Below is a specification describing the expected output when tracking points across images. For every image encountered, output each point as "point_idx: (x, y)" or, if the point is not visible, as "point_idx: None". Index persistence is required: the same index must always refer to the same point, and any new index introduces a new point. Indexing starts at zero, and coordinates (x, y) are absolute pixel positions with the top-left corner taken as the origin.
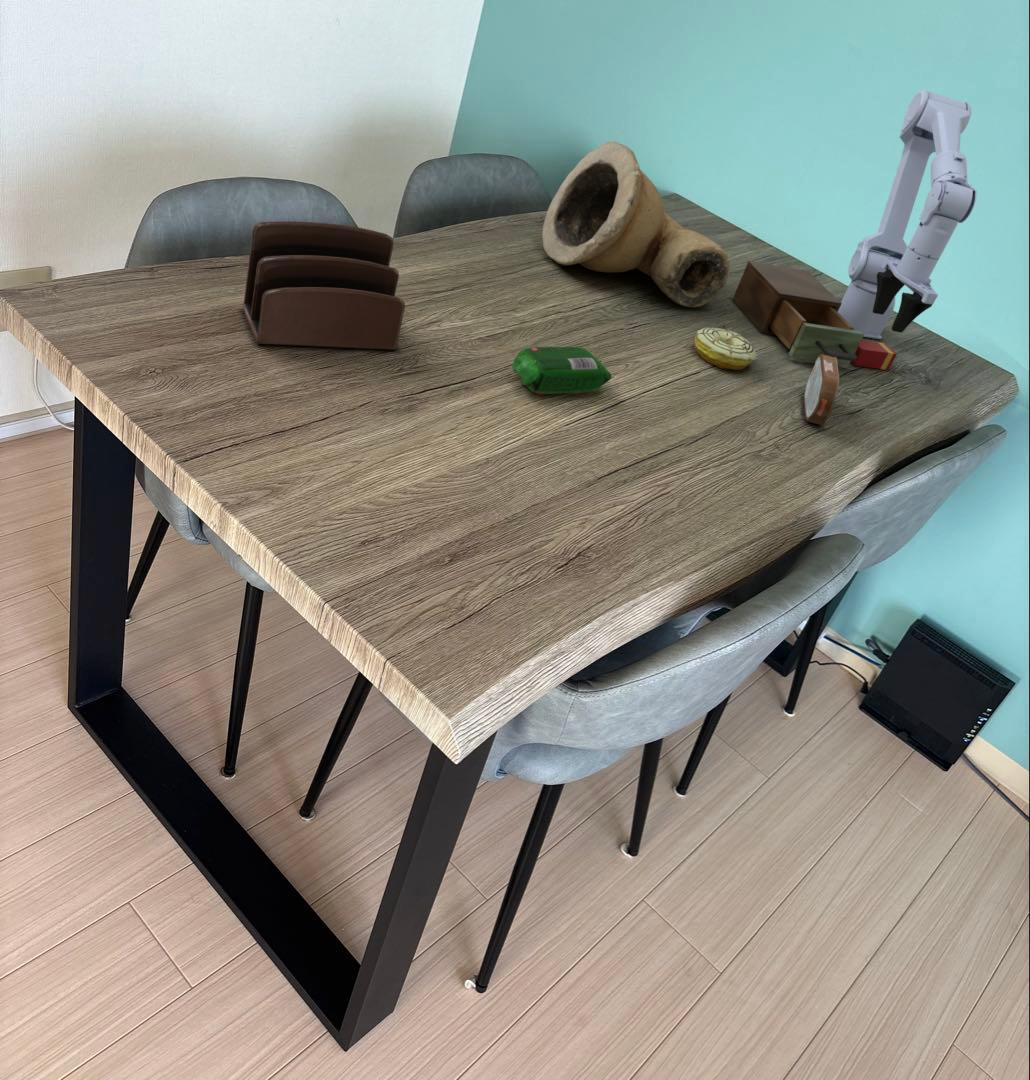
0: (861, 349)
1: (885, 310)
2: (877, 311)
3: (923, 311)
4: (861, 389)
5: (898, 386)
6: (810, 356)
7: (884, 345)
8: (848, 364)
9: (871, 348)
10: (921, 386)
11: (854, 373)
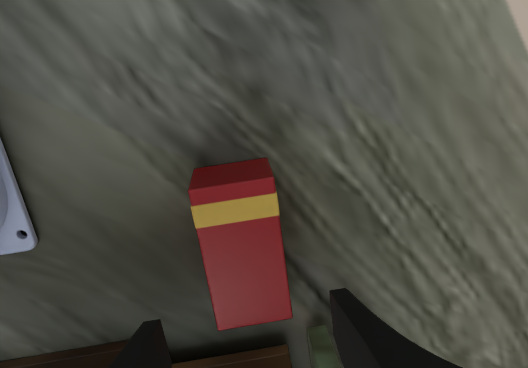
0: (290, 317)
1: (154, 333)
2: (166, 360)
3: (452, 364)
4: (427, 307)
5: (376, 167)
6: None
7: (214, 208)
8: (326, 328)
9: (270, 278)
10: (349, 58)
11: None
